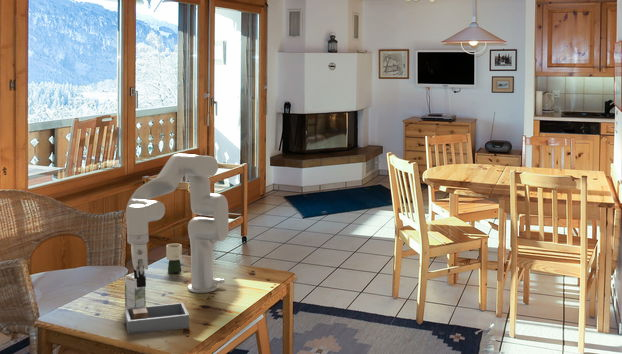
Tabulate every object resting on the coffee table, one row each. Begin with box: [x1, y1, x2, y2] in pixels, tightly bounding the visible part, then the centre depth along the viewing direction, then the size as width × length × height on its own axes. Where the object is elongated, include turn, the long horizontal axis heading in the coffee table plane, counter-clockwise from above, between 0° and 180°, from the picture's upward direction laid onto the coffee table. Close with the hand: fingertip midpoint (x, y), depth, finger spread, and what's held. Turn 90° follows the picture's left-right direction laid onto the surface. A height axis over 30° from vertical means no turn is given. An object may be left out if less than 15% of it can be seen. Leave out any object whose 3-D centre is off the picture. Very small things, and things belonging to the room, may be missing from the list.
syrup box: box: [124, 272, 147, 309], centre depth 280 cm, size 6×6×14 cm
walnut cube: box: [133, 308, 148, 320], centre depth 264 cm, size 5×5×5 cm
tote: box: [124, 302, 190, 336], centre depth 266 cm, size 22×14×5 cm, turn 109°
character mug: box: [165, 243, 183, 274], centre depth 329 cm, size 11×7×13 cm, turn 33°
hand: (140, 282), depth 262 cm, fingers open, 9 cm apart
